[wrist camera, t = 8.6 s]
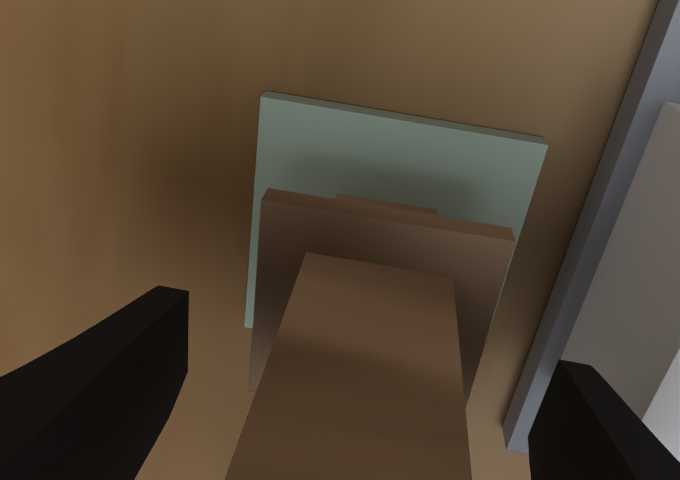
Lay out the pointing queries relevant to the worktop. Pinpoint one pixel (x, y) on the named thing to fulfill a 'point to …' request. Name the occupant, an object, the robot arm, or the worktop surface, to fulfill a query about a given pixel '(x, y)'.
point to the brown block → (366, 339)
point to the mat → (391, 164)
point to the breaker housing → (623, 259)
